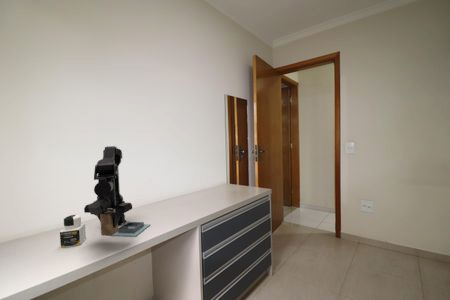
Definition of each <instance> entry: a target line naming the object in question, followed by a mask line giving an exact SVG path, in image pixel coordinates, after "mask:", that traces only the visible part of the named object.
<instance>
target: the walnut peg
mask: <svg viewBox="0 0 450 300" xmlns="http://www.w3.org/2000/svg"><path fill="white" fill-rule="evenodd" d="M113 212H114V211H106V212H104V213H102V214H100V220H99V222H100V234H101V237H102V236H103V237H105V236H106V237H107V236H108V237H113V236H112V235H113V234H115V233H116V232H118V228H119V226H118V223H117V226H116V227H115V228H114V227H113V218H112V216H111V215H110V214H111V213H113Z"/></svg>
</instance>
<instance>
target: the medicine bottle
mask: <svg viewBox="0 0 450 300" xmlns="http://www.w3.org/2000/svg"><path fill="white" fill-rule="evenodd" d="M86 233H87V232H86V223H85V222H84V223H82V217H81V215H80V214H72V215H68V216H66V217H64V218H63V229H61V230H60V231H59V240H60V248H61V249H62V248H69V247H70V248H71V247H77V246H80V245H81V244H82V243H83V242H84V241H85V240H86V239H87V235H86Z"/></svg>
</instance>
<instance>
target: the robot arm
mask: <svg viewBox="0 0 450 300" xmlns="http://www.w3.org/2000/svg"><path fill="white" fill-rule="evenodd" d="M102 152H103V153H102V158H101V159H99V160H98V161H97V163H96V164H95V165H94V171H93V172H94V173H93V181H97V183H96V184H95V185H94V187H93V191H94V194H95V195H96V200H94V201H93V202H91V203H89V204H87V205H85V206H84V208H83V211H84V214H85V213H87V214H90V215H94V216H95V217H96V218H98V220H99V221H100V214H102V213H104V212H106V211H114V212H113V213H111V214H110V215H111V216H112V218H113V227H114V228H115V227H116V226H117V223H118V227H119V226H122V224H123V225H124V224H125V223H127V220H126V216H125V214H126V213H127V212H129V211H131V210H132V209H133V204H132V202H126V201H125V200H124V197H123V195H122V194H121V193H120V173H119V172H120V171H119V166H120V164H121V163H122V160H123V152H122V149H120V148H118V147H117V146H115V145H113V146H108V145H107V146H105V147H104V149H103V150H102Z"/></svg>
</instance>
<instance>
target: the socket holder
mask: <svg viewBox="0 0 450 300" xmlns="http://www.w3.org/2000/svg"><path fill="white" fill-rule="evenodd" d="M149 227H151V224H150V223H149V224H147V223H144V221H128V222H125V223H123V225H120V227H118V232H116V233H115V234H113V235H112V236H111V237H123V238H124V237H125V238H126V237H127V238H136V237H138V236H139V235H141V234H142V233H143V232H144V231H145V230H147V229H148V228H149Z"/></svg>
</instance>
